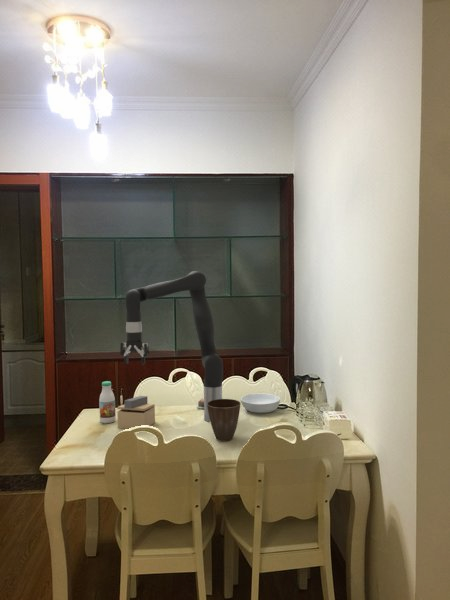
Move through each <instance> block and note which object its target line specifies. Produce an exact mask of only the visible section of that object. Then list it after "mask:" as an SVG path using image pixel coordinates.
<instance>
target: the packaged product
mask: <svg viewBox="0 0 450 600" xmlns="http://www.w3.org/2000/svg"><path fill="white" fill-rule="evenodd" d="M197 403H198V406H197V407H196V409H197V410H202V411H204V398H201V399H199V401H198V402H197Z"/></svg>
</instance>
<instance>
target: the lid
mask: <svg viewBox="0 0 450 600" xmlns="http://www.w3.org/2000/svg"><path fill="white" fill-rule="evenodd" d="M154 406H156V405H155V404H154V403H147V404H144V405H141V406H138V407H135V408H132V409H131V408H124V404H121V405H118V406H117V410H121V409H125V410H139V411H145V410H147V409H149V408H152V407H154Z"/></svg>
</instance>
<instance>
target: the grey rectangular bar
mask: <svg viewBox="0 0 450 600" xmlns="http://www.w3.org/2000/svg"><path fill="white" fill-rule="evenodd" d="M123 403H124V404H123V405H124V408H131V409H132V408H135V407H138V406H141V405H144V404H148V395H147V396H146V395H145V396H144V395H139V396H135V397H132V398H128V399H124V402H123Z"/></svg>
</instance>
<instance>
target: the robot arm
mask: <svg viewBox="0 0 450 600" xmlns="http://www.w3.org/2000/svg"><path fill="white" fill-rule="evenodd" d="M206 283H207V278H206V276H205V274H204V273H203V272H202V271H199V270H192V271H190V272H189V273H188V274H187V275H185V276H182V277H180V278H177V279H172V280H167V281H160V282H156V283H152V284H149V285H146V286H143V287H138V288H132V289H130V290H127V292H126V294H125V308H126V316H125V318H126V325H125V333H126V334H125V335H126V337H125V338H126V339H125V340H126V342H124V341H122V342H120V346H119V347H120V349H119V350H120V351H119V352H120V354H119V355H120V356H121V355H122V356H123V360H124V364H125V365H128V364H129V363H130V362H129V359H130V358H129V354H130V353H134V352H135V353H138V354H139V355H140V356H141V360H140V362H141V363H140V364H141V365H142V366H143V365H145V364H146V357H147V356H150V347H149V343H148V342H145V343H143V325H142V314H141V312H142V311H141V302H145V301H147V300H148V301H149V300H150V301H151V300H154V299H159V298H163V297H166V296H170V295H172V294H177V293H180V292H185V291H186V292H187V291H189V295H190V299H191V305H192V316H193V321H194V322H193V323H194V326H195V330H196V335H197V338H198V341H199V347H200V355H201V363H202V366H203V368H204V378H203V379H204V380H203V399H204V410H203V412H204V413H203V417H204V421H206V422H208V423H211V422H210V418H209V413H208V407H207V403H208V402H209V401H212V400H217V399H223V379H224V364H223V363H224V362H223V359H222V357H220V356H219V355H218V352H217V349H216V345H215V324H214V318H213V317H214V316H213V314H212V310H211V307H210V305H209V302H208V300H207V295H206V288H205V287H206V286H205V285H206ZM143 348H144V349H143Z"/></svg>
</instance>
